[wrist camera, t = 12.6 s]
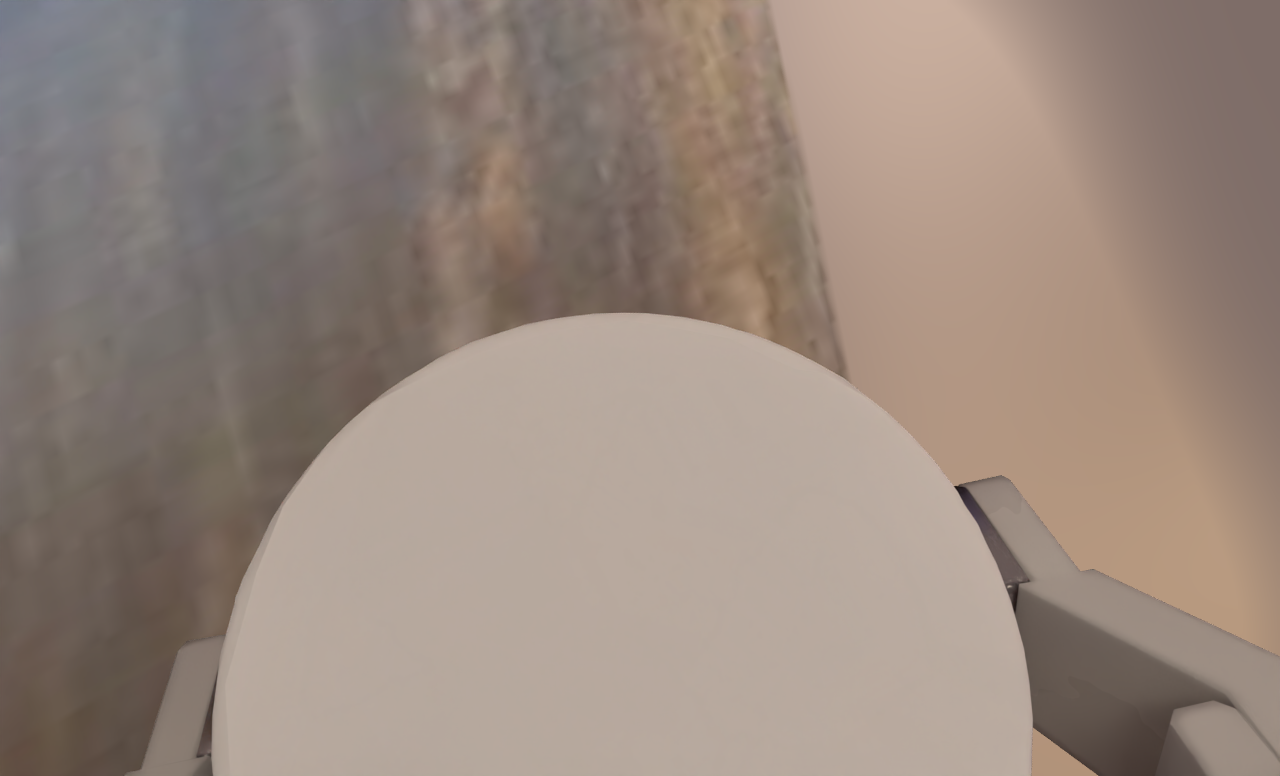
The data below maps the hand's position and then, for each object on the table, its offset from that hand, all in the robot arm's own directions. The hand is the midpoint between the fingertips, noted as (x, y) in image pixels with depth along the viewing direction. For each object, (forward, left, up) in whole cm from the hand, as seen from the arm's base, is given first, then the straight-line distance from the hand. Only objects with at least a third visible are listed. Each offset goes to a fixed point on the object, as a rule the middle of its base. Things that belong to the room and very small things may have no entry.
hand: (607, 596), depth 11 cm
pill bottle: (0, 0, -6) cm, 6 cm away
